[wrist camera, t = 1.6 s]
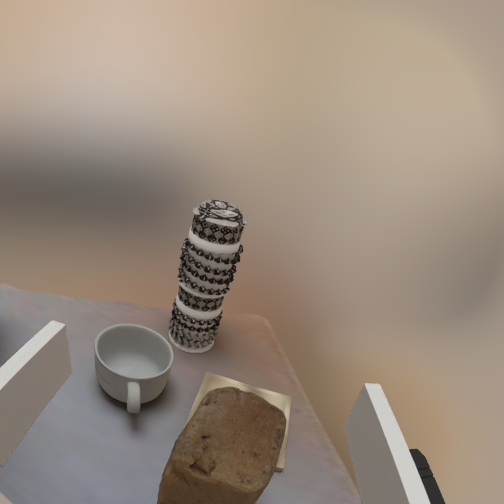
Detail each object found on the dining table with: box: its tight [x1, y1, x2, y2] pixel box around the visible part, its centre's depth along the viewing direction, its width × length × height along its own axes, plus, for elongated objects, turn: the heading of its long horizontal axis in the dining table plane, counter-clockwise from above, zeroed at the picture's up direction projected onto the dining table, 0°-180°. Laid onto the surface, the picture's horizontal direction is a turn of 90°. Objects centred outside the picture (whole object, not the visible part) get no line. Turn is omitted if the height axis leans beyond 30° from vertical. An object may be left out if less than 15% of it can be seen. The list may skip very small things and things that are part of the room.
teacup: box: [94, 324, 174, 413], centre depth 38 cm, size 14×11×8 cm
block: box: [157, 386, 287, 504], centre depth 23 cm, size 11×8×20 cm
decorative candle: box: [168, 200, 246, 354], centre depth 50 cm, size 9×9×25 cm
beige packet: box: [182, 371, 291, 472], centre depth 40 cm, size 14×14×1 cm
